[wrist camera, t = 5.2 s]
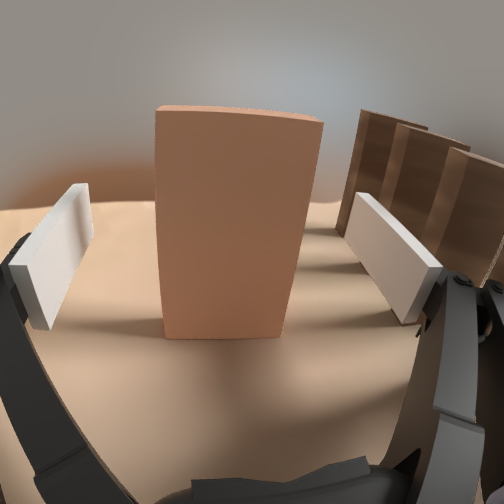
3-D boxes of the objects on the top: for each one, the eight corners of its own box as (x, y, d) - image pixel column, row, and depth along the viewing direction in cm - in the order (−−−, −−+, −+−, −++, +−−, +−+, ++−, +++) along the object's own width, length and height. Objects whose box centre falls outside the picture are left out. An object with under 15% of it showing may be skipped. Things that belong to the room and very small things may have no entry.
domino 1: (166, 317, 17) (161, 105, 11) (274, 316, 18) (310, 115, 12) (165, 338, 16) (155, 110, 10) (279, 337, 17) (324, 122, 11)
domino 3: (359, 262, 24) (397, 122, 18) (417, 262, 25) (457, 140, 19) (368, 274, 23) (410, 128, 17) (426, 272, 24) (470, 146, 18)
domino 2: (335, 228, 29) (361, 108, 23) (388, 230, 30) (417, 123, 24) (341, 237, 27) (370, 112, 21) (396, 239, 28) (428, 127, 22)
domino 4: (391, 309, 19) (449, 146, 14) (451, 303, 20) (507, 166, 15) (401, 326, 18) (469, 156, 12) (462, 316, 19) (524, 176, 13)
